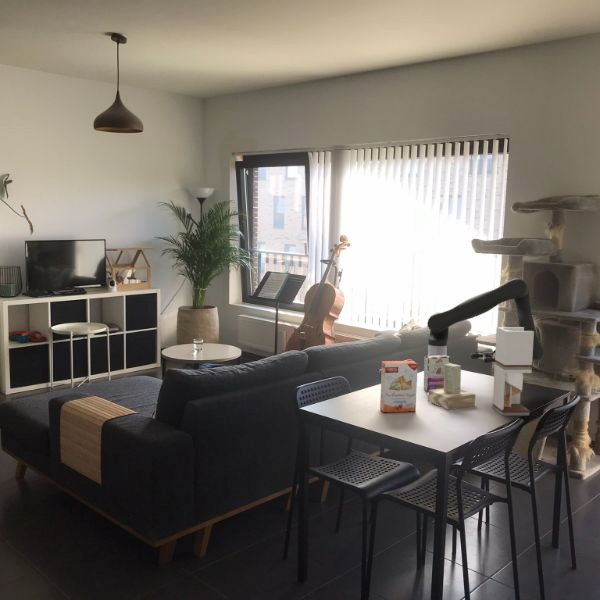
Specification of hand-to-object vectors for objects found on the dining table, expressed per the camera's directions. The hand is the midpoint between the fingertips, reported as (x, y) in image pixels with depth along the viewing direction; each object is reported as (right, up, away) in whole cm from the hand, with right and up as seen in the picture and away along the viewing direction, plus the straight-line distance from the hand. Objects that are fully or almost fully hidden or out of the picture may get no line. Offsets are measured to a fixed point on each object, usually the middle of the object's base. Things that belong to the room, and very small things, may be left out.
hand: (478, 358), depth 285 cm
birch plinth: (-13, -19, -6) cm, 24 cm away
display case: (+9, -21, -17) cm, 29 cm away
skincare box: (-13, -14, -6) cm, 21 cm away
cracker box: (-39, -21, -18) cm, 47 cm away
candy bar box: (-15, -17, +16) cm, 28 cm away
